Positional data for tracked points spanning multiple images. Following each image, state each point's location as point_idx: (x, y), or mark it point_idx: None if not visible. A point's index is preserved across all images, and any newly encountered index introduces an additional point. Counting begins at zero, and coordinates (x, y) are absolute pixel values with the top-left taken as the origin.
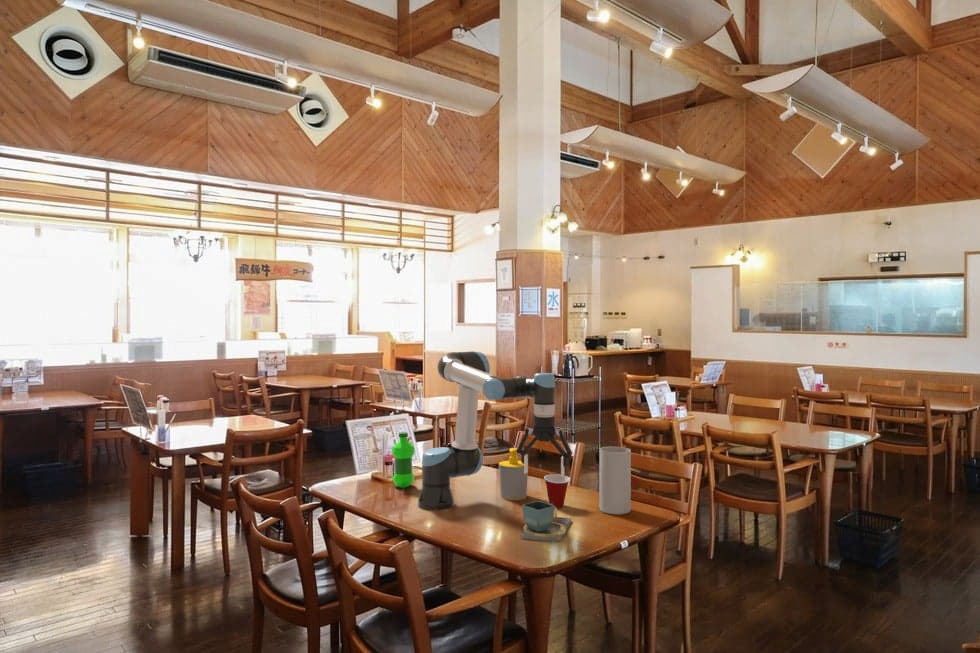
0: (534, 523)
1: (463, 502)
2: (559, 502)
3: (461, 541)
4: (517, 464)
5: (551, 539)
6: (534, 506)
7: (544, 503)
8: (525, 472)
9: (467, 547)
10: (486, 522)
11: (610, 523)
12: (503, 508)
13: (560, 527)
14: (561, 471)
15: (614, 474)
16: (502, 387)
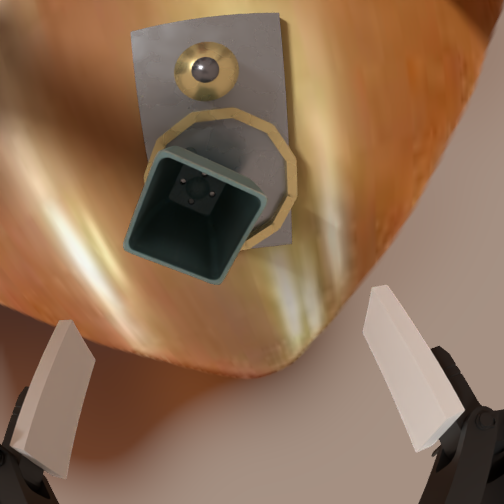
0: (197, 239)
1: None
2: None
3: (65, 315)
4: None
5: (265, 244)
6: (156, 175)
7: (204, 172)
8: (89, 365)
9: (98, 339)
10: (19, 164)
11: (405, 17)
12: (12, 14)
13: (269, 137)
14: (377, 356)
15: None
16: None
